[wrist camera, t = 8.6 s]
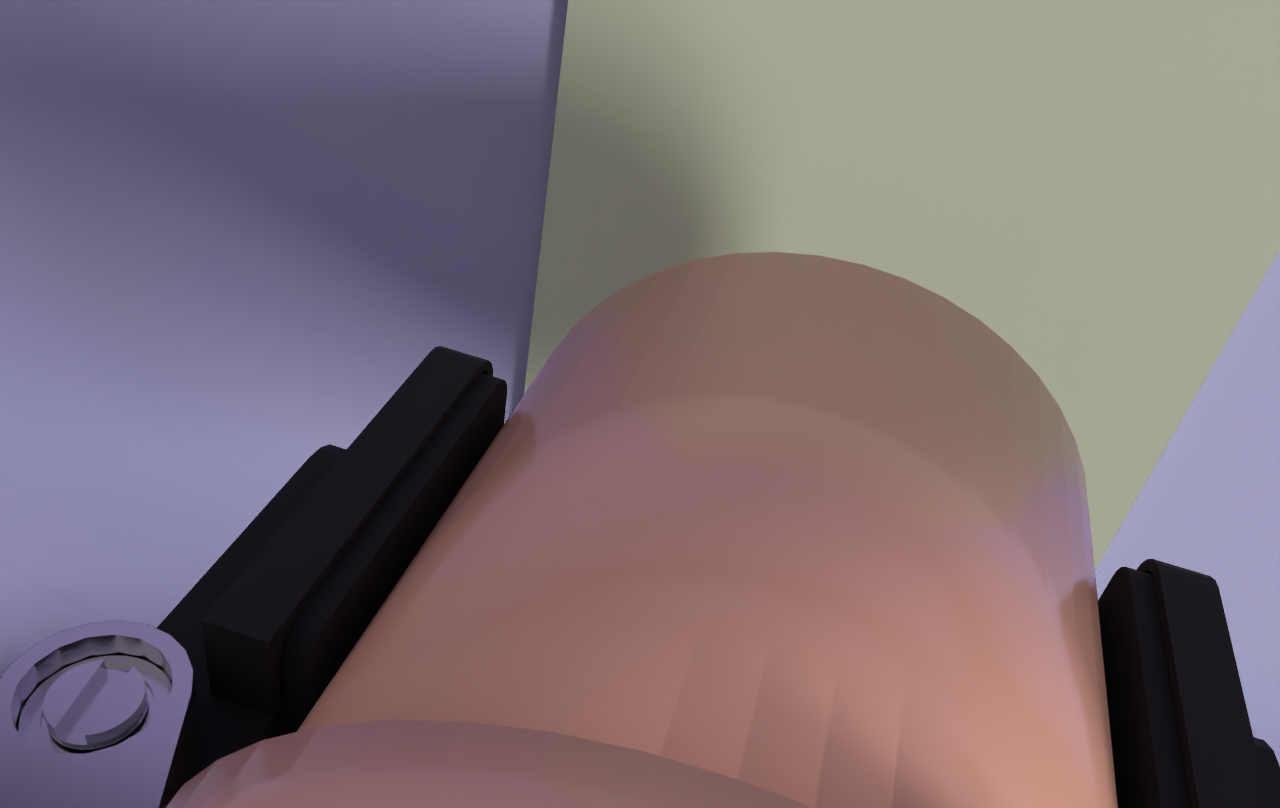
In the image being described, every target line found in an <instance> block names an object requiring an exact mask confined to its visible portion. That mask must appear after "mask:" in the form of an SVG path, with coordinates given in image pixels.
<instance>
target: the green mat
mask: <svg viewBox="0 0 1280 808" xmlns="http://www.w3.org/2000/svg"><path fill="white" fill-rule="evenodd" d="M1279 250H1280V0H568V7H567V16H566V25H565V34H564V43H563V51H562V60H561V69H560V78H559V87H558V96H557V104H556V113H555V122H554V131H553V140H552V149H551V158H550V166H549V175H548V184H547V193H546V202H545V211H544V219H543V228H542V237H541V246H540V255H539V264H538V272H537V281H536V290H535V299H534V308H533V317H532V326H531V334H530V343H529V352H528V361H527V370H526V379H525V387H524V394H525V392H526V391H527V389H528V388H529V386H530V385H531V384H532V382H533V381H534V379H535V378H536V376H537V375H538V373H539V372H540V370H541V369H542V367H543V366H544V364H545V363H546V361H547V360H548V358H549V357H550V355H551V354H552V352H553V351H554V349H555V348H556V347H557V346H558V344H559V343H560V342H561V341H562V340H563V338H564V337H565V336H566V335H567V333H568V332H569V331H570V330H571V329H572V327H573V326H574V325H575V324H576V323H577V322H578V321H580V320H581V319H582V318H583V317H584V316H585V315H586V314H588V313H589V312H590V311H591V310H592V309H593V308H594V307H596V306H597V305H598V304H599V303H600V302H602V301H604V300H605V299H607V298H608V297H610V296H611V295H613V294H615V293H616V292H618V291H619V290H621V289H622V288H624V287H626V286H627V285H629V284H631V283H633V282H636V281H638V280H640V279H642V278H645V277H647V276H649V275H651V274H653V273H656V272H658V271H660V270H663V269H667V268H670V267H673V266H677V265H680V264H684V263H687V262H690V261H694V260H697V259H704V258H710V257H716V256H723V255H729V254H735V253H761V252H784V253H796V254H807V255H818V256H824V257H829V258H834V259H839V260H843V261H848V262H853V263H858V264H863V265H866V266H869V267H872V268H875V269H878V270H881V271H884V272H887V273H890V274H893V275H896V276H899V277H902V278H904V279H907V280H909V281H911V282H913V283H915V284H917V285H919V286H921V287H923V288H926V289H928V290H930V291H932V292H934V293H936V294H938V295H940V296H942V297H944V298H946V299H948V300H949V301H951V302H952V303H954V304H955V305H957V306H959V307H960V308H962V309H963V310H965V311H966V312H968V313H970V314H971V315H973V316H974V317H976V318H977V319H979V320H980V321H982V322H983V323H984V324H985V325H986V326H988V327H989V328H990V329H991V330H992V331H994V332H995V333H996V334H997V335H998V336H1000V337H1001V338H1002V339H1003V340H1004V341H1006V342H1007V343H1008V344H1009V345H1010V346H1012V347H1013V348H1014V350H1015V351H1016V352H1017V353H1018V354H1019V355H1020V356H1021V357H1022V358H1023V359H1024V360H1025V362H1026V363H1027V364H1028V365H1029V366H1030V367H1031V368H1032V369H1033V370H1034V371H1035V372H1036V374H1037V375H1038V376H1039V377H1040V379H1041V380H1042V382H1043V383H1044V385H1045V386H1046V387H1047V389H1048V390H1049V392H1050V393H1051V395H1052V396H1053V398H1054V399H1055V401H1056V402H1057V404H1058V405H1059V407H1060V408H1061V411H1062V413H1063V415H1064V417H1065V419H1066V421H1067V423H1068V425H1069V427H1070V429H1071V432H1072V434H1073V436H1074V438H1075V440H1076V444H1077V447H1078V451H1079V454H1080V458H1081V461H1082V464H1083V468H1084V471H1085V479H1086V488H1087V497H1088V507H1089V517H1090V527H1091V537H1092V547H1093V557H1094V568H1095V569H1096V568H1097V566H1098V564H1099V563H1100V561H1101V559H1102V557H1103V556H1104V554H1105V552H1106V550H1107V549H1108V547H1109V545H1110V543H1111V542H1112V540H1113V538H1114V536H1115V535H1116V533H1117V531H1118V530H1119V528H1120V526H1121V524H1122V523H1123V521H1124V519H1125V517H1126V516H1127V514H1128V512H1129V510H1130V509H1131V507H1132V505H1133V503H1134V502H1135V500H1136V498H1137V497H1138V495H1139V493H1140V491H1141V490H1142V488H1143V486H1144V484H1145V483H1146V481H1147V479H1148V477H1149V476H1150V474H1151V472H1152V470H1153V469H1154V467H1155V465H1156V464H1157V462H1158V460H1159V458H1160V457H1161V455H1162V453H1163V451H1164V450H1165V448H1166V446H1167V444H1168V443H1169V441H1170V439H1171V437H1172V436H1173V434H1174V432H1175V431H1176V429H1177V427H1178V425H1179V424H1180V422H1181V420H1182V418H1183V417H1184V415H1185V413H1186V411H1187V410H1188V408H1189V406H1190V405H1191V403H1192V401H1193V399H1194V398H1195V396H1196V394H1197V392H1198V391H1199V389H1200V387H1201V385H1202V384H1203V382H1204V380H1205V378H1206V377H1207V375H1208V373H1209V372H1210V370H1211V368H1212V366H1213V365H1214V363H1215V361H1216V359H1217V358H1218V356H1219V354H1220V352H1221V351H1222V349H1223V347H1224V345H1225V344H1226V342H1227V340H1228V339H1229V337H1230V335H1231V333H1232V332H1233V330H1234V328H1235V326H1236V325H1237V323H1238V321H1239V319H1240V318H1241V316H1242V314H1243V312H1244V311H1245V309H1246V307H1247V306H1248V304H1249V302H1250V300H1251V299H1252V297H1253V295H1254V293H1255V292H1256V290H1257V288H1258V286H1259V285H1260V283H1261V281H1262V279H1263V278H1264V276H1265V274H1266V273H1267V271H1268V269H1269V267H1270V266H1271V264H1272V262H1273V260H1274V259H1275V257H1276V255H1277V253H1278V252H1279Z"/></svg>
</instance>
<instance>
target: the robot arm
mask: <svg viewBox="0 0 1280 808" xmlns="http://www.w3.org/2000/svg"><path fill="white" fill-rule="evenodd" d="M506 397H507V384H506V381H505V380H502V379H499V378H496V377H493V368H492V363H491V362H490V361H488V360H485V359H481V358H478V357H475V356H471V355H468V354H465V353H461V352H458V351H455V350H451V349H448V348H445V347H441V346H439V347H435V348H434V349H433V350H432V351H431V352H430V353H429V354H428V355H427V356H426V358H425V359H424V360H423V361H422V362H421V363H420V365H419V366H418V367H417V368H416V369H415V370H414V372H413V373H412V374H411V375H410V376H409V377H408V379H407V380H406V381H405V382H404V383H403V384H402V386H401V387H400V388H399V389H398V390H397V391H396V393H395V394H394V395H393V396H392V397H391V398H390V400H389V401H388V402H387V403H386V404H385V405H384V407H383V408H382V409H381V410H380V411H379V412H378V414H377V415H376V416H375V417H374V418H373V419H372V421H371V422H370V423H369V424H368V425H367V426H366V428H365V429H364V430H363V431H362V432H361V433H360V435H359V436H358V437H357V438H356V439H355V440H354V442H353V443H352V444H351V445H350V446H349V447H348V449H347V450H346V449H343V448H339V447H336V446H333V445H327V446H324V447H321V448H320V449H318V450H317V451H316V452H315V453H314V454H313V455H312V456H310V458H309V459H308V460H307V461H306V462H305V463H304V464H303V465H302V466H301V468H300V469H299V470H298V471H297V472H296V473H295V474H294V475H293V476H292V478H291V479H290V480H289V481H288V482H287V483H286V484H285V485H284V487H283V488H282V489H281V490H280V491H279V492H278V493H277V494H276V495H275V497H274V498H273V499H272V500H271V501H270V502H269V503H268V504H267V506H266V507H265V508H264V509H263V510H262V511H261V512H260V513H259V514H258V516H257V517H256V518H255V519H254V520H253V521H252V522H251V523H250V525H249V526H248V527H247V528H246V529H245V530H244V531H243V532H242V533H241V535H240V536H239V537H238V538H237V539H236V540H235V541H234V542H233V543H232V545H231V546H230V547H229V548H228V549H227V550H226V551H225V552H224V554H223V555H222V556H221V557H220V558H219V559H218V560H217V561H216V562H215V564H214V565H213V566H212V567H211V568H210V569H209V570H208V571H207V573H206V574H205V575H204V576H203V577H202V578H201V579H200V580H199V581H198V583H197V584H196V585H195V586H194V587H193V588H192V589H191V590H190V592H189V593H188V594H187V595H186V596H185V597H184V598H183V599H182V600H181V602H180V603H179V604H178V605H177V606H176V607H175V608H174V609H173V611H172V612H171V613H170V614H169V615H168V616H167V617H166V618H165V619H164V621H163V622H162V623H161V624H160V625H159V626H158V627H157V628H154V627H152V626H150V625H148V624H141V623H134V622H127V621H121V620H120V621H108V622H96V623H88V624H85V625H82V626H78V627H75V628H71V629H68V630H65V631H61V632H59V633H57V634H55V635H53V636H51V637H49V638H48V639H46V640H44V641H42V642H40V643H38V644H36V645H34V646H32V647H31V648H30V649H29V650H28V651H26V652H25V653H24V654H23V655H22V656H21V657H19V658H18V659H17V660H16V661H15V662H14V663H12V664H11V665H10V666H9V667H8V669H7V670H6V672H5V673H4V675H3V676H2V677H1V679H0V808H165V807H166V806H167V804H168V803H169V802H170V801H171V799H172V798H173V797H174V796H175V794H176V793H177V792H178V791H179V789H180V788H181V787H182V786H183V785H184V784H185V783H186V782H188V781H189V780H190V779H192V778H193V777H195V776H196V775H197V774H199V773H200V772H201V771H203V770H204V769H205V768H207V767H208V766H210V765H211V764H212V763H214V762H215V761H216V760H218V759H221V758H223V757H225V756H227V755H230V754H232V753H234V752H237V751H239V750H241V749H243V748H246V747H248V746H250V745H253V744H255V743H257V742H259V741H262V740H266V739H270V738H274V737H278V736H282V735H286V734H290V733H294V732H297V730H298V729H299V728H300V726H301V725H302V723H303V722H304V720H305V719H306V717H307V716H308V714H309V713H310V711H311V710H312V708H313V707H314V705H315V704H316V702H317V701H318V699H319V698H320V696H321V695H322V693H323V692H324V690H325V689H326V687H327V686H328V685H329V683H330V682H331V680H332V679H333V677H334V676H335V674H336V673H337V671H338V670H339V668H340V667H341V665H342V664H343V662H344V661H345V659H346V658H347V656H348V655H349V653H350V652H351V650H352V649H353V647H354V646H355V644H356V643H357V642H358V640H359V639H360V637H361V636H362V634H363V633H364V631H365V630H366V628H367V627H368V625H369V624H370V622H371V621H372V619H373V618H374V616H375V615H376V613H377V612H378V610H379V609H380V607H381V606H382V604H383V603H384V601H385V600H386V599H387V597H388V596H389V594H390V593H391V591H392V590H393V588H394V587H395V585H396V584H397V582H398V581H399V579H400V578H401V576H402V575H403V573H404V572H405V570H406V569H407V567H408V566H409V564H410V563H411V561H412V560H413V558H414V557H415V556H416V554H417V553H418V551H419V550H420V548H421V547H422V545H423V544H424V542H425V541H426V539H427V538H428V536H429V535H430V533H431V532H432V530H433V529H434V527H435V526H436V524H437V523H438V521H439V520H440V518H441V517H442V515H443V514H444V513H445V511H446V510H447V508H448V507H449V505H450V504H451V502H452V501H453V499H454V498H455V496H456V495H457V493H458V492H459V490H460V489H461V487H462V486H463V484H464V483H465V481H466V480H467V478H468V477H469V475H470V474H471V472H472V471H473V470H474V468H475V467H476V465H477V464H478V462H479V461H480V459H481V458H482V456H483V455H484V453H485V452H486V450H487V449H488V447H489V446H490V444H491V443H492V441H493V440H494V438H495V437H496V435H497V434H498V432H499V431H500V429H501V428H502V427H503V425H504V417H505V407H506ZM1098 608H1099V618H1100V628H1101V639H1102V649H1103V659H1104V669H1105V679H1106V689H1107V699H1108V709H1109V720H1110V730H1111V740H1112V750H1113V760H1114V770H1115V780H1116V791H1117V801H1118V808H1280V766H1279V764H1278V761H1277V759H1276V756H1275V754H1274V751H1273V750H1272V748H1271V747H1270V746H1269V745H1268V744H1267V743H1266V742H1265V741H1264V740H1261V739H1258V738H1255V737H1253V734H1252V730H1251V725H1250V721H1249V717H1248V713H1247V708H1246V704H1245V700H1244V695H1243V691H1242V687H1241V682H1240V678H1239V674H1238V669H1237V665H1236V661H1235V656H1234V652H1233V648H1232V644H1231V639H1230V635H1229V631H1228V626H1227V622H1226V618H1225V613H1224V609H1223V605H1222V600H1221V596H1220V592H1219V588H1218V585H1217V583H1216V581H1215V580H1214V579H1213V578H1212V577H1211V576H1208V575H1204V574H1201V573H1198V572H1194V571H1191V570H1188V569H1184V568H1181V567H1178V566H1174V565H1171V564H1167V563H1164V562H1161V561H1157V560H1154V559H1147V560H1146V561H1144V562H1143V563H1142V564H1141V565H1140V566H1139V567H1138V569H1137V570H1134V569H1131V568H1127V567H1121V568H1120V569H1118V570H1117V571H1116V573H1115V574H1114V575H1113V577H1112V578H1111V580H1110V582H1109V584H1108V585H1107V587H1106V589H1105V590H1104V592H1103V594H1102V595H1101V597H1100V599H1099V600H1098Z"/></svg>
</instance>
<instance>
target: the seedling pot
mask: <svg viewBox="0 0 1280 808" xmlns="http://www.w3.org/2000/svg"><path fill="white" fill-rule="evenodd" d="M165 808H1118V801H1117V791H1116V780H1115V770H1114V760H1113V750H1112V740H1111V730H1110V720H1109V709H1108V699H1107V689H1106V679H1105V669H1104V659H1103V649H1102V639H1101V628H1100V618H1099V608H1098V598H1097V588H1096V578H1095V568H1094V557H1093V547H1092V537H1091V527H1090V517H1089V507H1088V497H1087V488H1086V479H1085V471H1084V468H1083V464H1082V461H1081V458H1080V454H1079V451H1078V447H1077V444H1076V440H1075V438H1074V436H1073V434H1072V432H1071V429H1070V427H1069V425H1068V423H1067V421H1066V419H1065V417H1064V415H1063V413H1062V411H1061V408H1060V407H1059V405H1058V404H1057V402H1056V401H1055V399H1054V398H1053V396H1052V395H1051V393H1050V392H1049V390H1048V389H1047V387H1046V386H1045V385H1044V383H1043V382H1042V380H1041V379H1040V377H1039V376H1038V375H1037V374H1036V372H1035V371H1034V370H1033V369H1032V368H1031V367H1030V366H1029V365H1028V364H1027V363H1026V362H1025V360H1024V359H1023V358H1022V357H1021V356H1020V355H1019V354H1018V353H1017V352H1016V351H1015V350H1014V348H1013V347H1012V346H1010V345H1009V344H1008V343H1007V342H1006V341H1004V340H1003V339H1002V338H1001V337H1000V336H998V335H997V334H996V333H995V332H994V331H992V330H991V329H990V328H989V327H988V326H986V325H985V324H984V323H983V322H982V321H980V320H979V319H977V318H976V317H974V316H973V315H971V314H970V313H968V312H966V311H965V310H963V309H962V308H960V307H959V306H957V305H955V304H954V303H952V302H951V301H949V300H948V299H946V298H944V297H942V296H940V295H938V294H936V293H934V292H932V291H930V290H928V289H926V288H923V287H921V286H919V285H917V284H915V283H913V282H911V281H909V280H907V279H904V278H902V277H899V276H896V275H893V274H890V273H887V272H884V271H881V270H878V269H875V268H872V267H869V266H866V265H863V264H858V263H853V262H848V261H843V260H839V259H834V258H829V257H824V256H818V255H807V254H796V253H784V252H761V253H735V254H729V255H723V256H716V257H710V258H704V259H697V260H694V261H690V262H687V263H684V264H680V265H677V266H673V267H670V268H667V269H663V270H660V271H658V272H656V273H653V274H651V275H649V276H647V277H645V278H642V279H640V280H638V281H636V282H633V283H631V284H629V285H627V286H626V287H624V288H622V289H621V290H619V291H618V292H616V293H615V294H613V295H611V296H610V297H608V298H607V299H605V300H604V301H602V302H600V303H599V304H598V305H597V306H596V307H594V308H593V309H592V310H591V311H590V312H589V313H588V314H586V315H585V316H584V317H583V318H582V319H581V320H580V321H578V322H577V323H576V324H575V325H574V326H573V327H572V329H571V330H570V331H569V332H568V333H567V335H566V336H565V337H564V338H563V340H562V341H561V342H560V343H559V344H558V346H557V347H556V348H555V349H554V351H553V352H552V354H551V355H550V357H549V358H548V360H547V361H546V363H545V364H544V366H543V367H542V369H541V370H540V372H539V373H538V375H537V376H536V378H535V379H534V381H533V382H532V384H531V385H530V386H529V388H528V389H527V391H526V392H525V394H524V395H523V397H522V398H521V400H520V401H519V403H518V404H517V406H516V407H515V409H514V410H513V412H512V413H511V415H510V416H509V418H508V419H507V421H506V422H505V424H504V425H503V427H502V428H501V429H500V431H499V432H498V434H497V435H496V437H495V438H494V440H493V441H492V443H491V444H490V446H489V447H488V449H487V450H486V452H485V453H484V455H483V456H482V458H481V459H480V461H479V462H478V464H477V465H476V467H475V468H474V470H473V471H472V472H471V474H470V475H469V477H468V478H467V480H466V481H465V483H464V484H463V486H462V487H461V489H460V490H459V492H458V493H457V495H456V496H455V498H454V499H453V501H452V502H451V504H450V505H449V507H448V508H447V510H446V511H445V513H444V514H443V515H442V517H441V518H440V520H439V521H438V523H437V524H436V526H435V527H434V529H433V530H432V532H431V533H430V535H429V536H428V538H427V539H426V541H425V542H424V544H423V545H422V547H421V548H420V550H419V551H418V553H417V554H416V556H415V557H414V558H413V560H412V561H411V563H410V564H409V566H408V567H407V569H406V570H405V572H404V573H403V575H402V576H401V578H400V579H399V581H398V582H397V584H396V585H395V587H394V588H393V590H392V591H391V593H390V594H389V596H388V597H387V599H386V600H385V601H384V603H383V604H382V606H381V607H380V609H379V610H378V612H377V613H376V615H375V616H374V618H373V619H372V621H371V622H370V624H369V625H368V627H367V628H366V630H365V631H364V633H363V634H362V636H361V637H360V639H359V640H358V642H357V643H356V644H355V646H354V647H353V649H352V650H351V652H350V653H349V655H348V656H347V658H346V659H345V661H344V662H343V664H342V665H341V667H340V668H339V670H338V671H337V673H336V674H335V676H334V677H333V679H332V680H331V682H330V683H329V685H328V686H327V687H326V689H325V690H324V692H323V693H322V695H321V696H320V698H319V699H318V701H317V702H316V704H315V705H314V707H313V708H312V710H311V711H310V713H309V714H308V716H307V717H306V719H305V720H304V722H303V723H302V725H301V726H300V728H299V729H298V730H297V732H294V733H290V734H286V735H282V736H278V737H274V738H270V739H266V740H262V741H259V742H257V743H255V744H253V745H250V746H248V747H246V748H243V749H241V750H239V751H237V752H234V753H232V754H230V755H227V756H225V757H223V758H221V759H218V760H216V761H215V762H214V763H212V764H211V765H210V766H208V767H207V768H205V769H204V770H203V771H201V772H200V773H199V774H197V775H196V776H195V777H193V778H192V779H190V780H189V781H188V782H186V783H185V784H184V785H183V786H182V787H181V788H180V789H179V791H178V792H177V793H176V794H175V796H174V797H173V798H172V799H171V801H170V802H169V803H168V804H167V806H166V807H165Z"/></svg>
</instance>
